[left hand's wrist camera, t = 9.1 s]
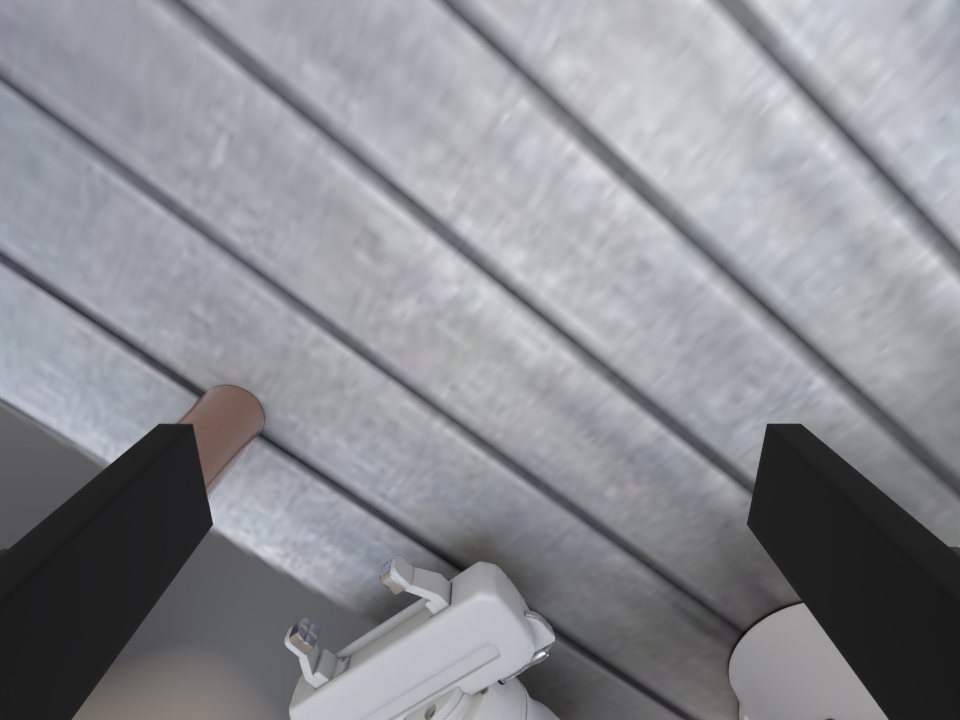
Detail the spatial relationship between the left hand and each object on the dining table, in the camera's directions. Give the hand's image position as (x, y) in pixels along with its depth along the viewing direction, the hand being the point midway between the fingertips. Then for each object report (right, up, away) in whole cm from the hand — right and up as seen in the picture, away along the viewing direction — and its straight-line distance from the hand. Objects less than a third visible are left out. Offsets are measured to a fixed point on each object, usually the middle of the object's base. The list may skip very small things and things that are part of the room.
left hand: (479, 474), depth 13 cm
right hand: (-10, -15, +27) cm, 32 cm away
